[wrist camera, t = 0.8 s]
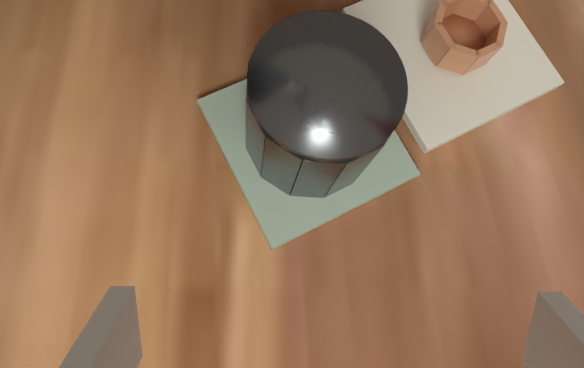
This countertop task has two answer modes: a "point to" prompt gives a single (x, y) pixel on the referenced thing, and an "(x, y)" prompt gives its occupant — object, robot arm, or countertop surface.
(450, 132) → the board
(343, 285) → the countertop surface
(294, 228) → the mat
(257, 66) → the grey ribbed cylinder
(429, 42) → the bowl
